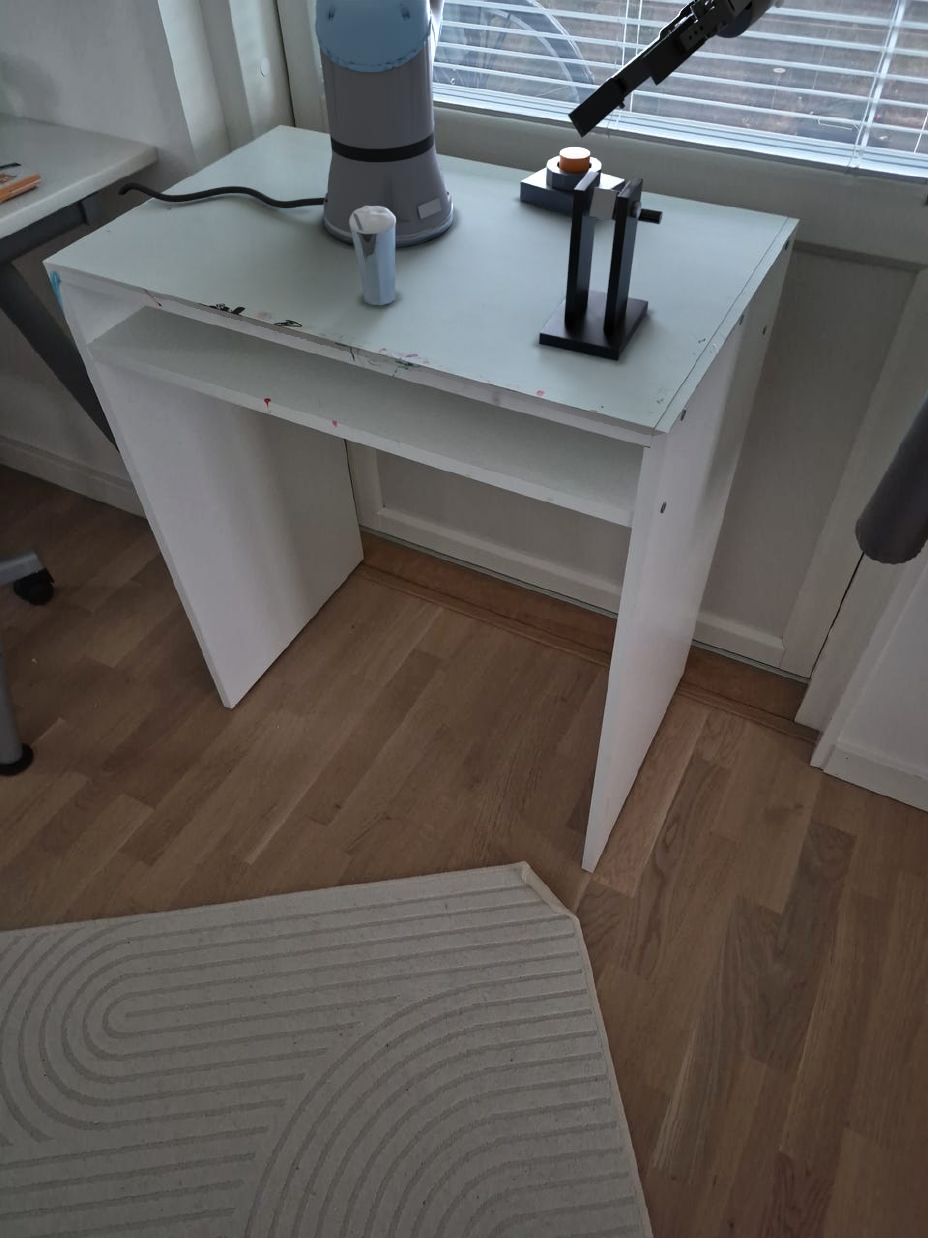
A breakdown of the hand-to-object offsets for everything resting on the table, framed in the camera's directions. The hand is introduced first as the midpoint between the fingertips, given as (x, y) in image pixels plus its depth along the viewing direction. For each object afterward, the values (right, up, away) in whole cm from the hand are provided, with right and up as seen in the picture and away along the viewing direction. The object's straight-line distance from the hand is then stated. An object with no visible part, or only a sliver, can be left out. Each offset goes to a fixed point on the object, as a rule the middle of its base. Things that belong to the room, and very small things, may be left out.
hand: (610, 99), depth 88 cm
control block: (-1, 0, +20) cm, 20 cm away
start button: (-1, +2, +18) cm, 18 cm away
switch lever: (0, -14, -4) cm, 15 cm away
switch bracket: (-2, -23, 0) cm, 23 cm away
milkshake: (-24, -19, +4) cm, 30 cm away
